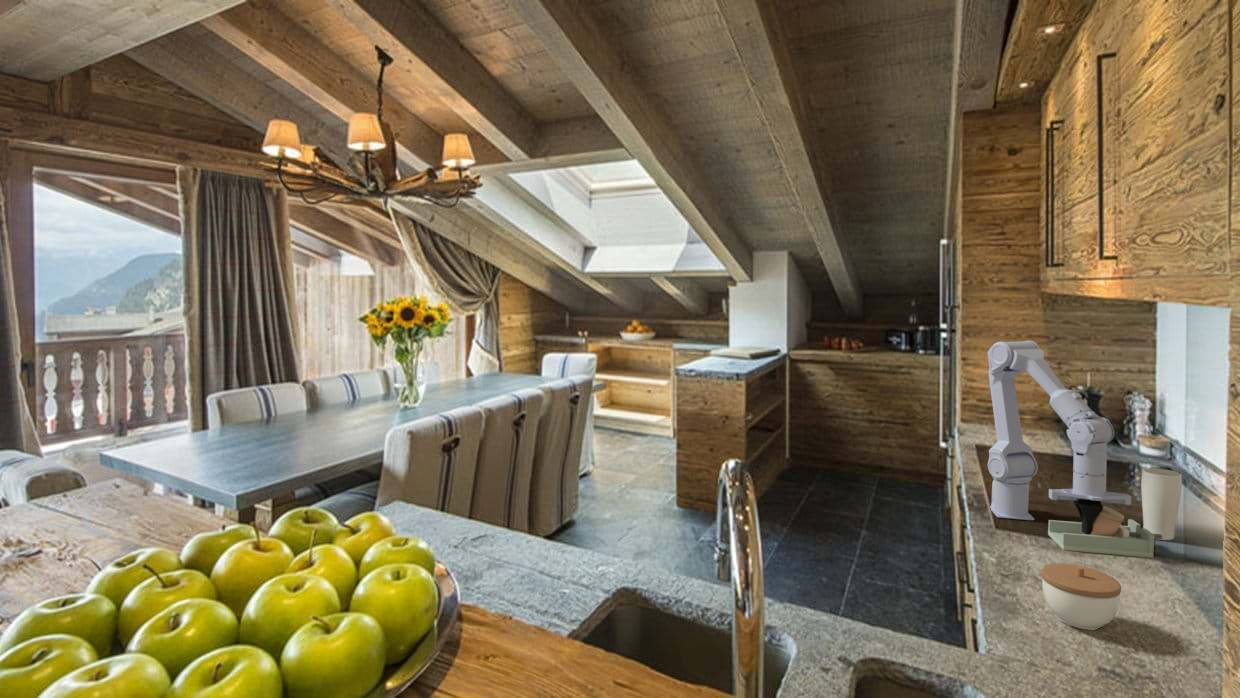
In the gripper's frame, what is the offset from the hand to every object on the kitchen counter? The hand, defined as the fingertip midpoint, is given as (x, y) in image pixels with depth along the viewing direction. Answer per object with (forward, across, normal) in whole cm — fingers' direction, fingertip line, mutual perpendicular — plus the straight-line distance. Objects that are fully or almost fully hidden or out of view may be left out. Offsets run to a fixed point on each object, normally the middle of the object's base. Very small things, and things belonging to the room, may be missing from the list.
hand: (1088, 533), depth 132 cm
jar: (+1, +2, +1) cm, 2 cm away
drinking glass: (+3, +17, +10) cm, 20 cm away
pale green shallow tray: (+3, +2, +1) cm, 4 cm away
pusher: (+2, +9, +1) cm, 10 cm away
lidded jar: (+4, -14, -36) cm, 39 cm away
